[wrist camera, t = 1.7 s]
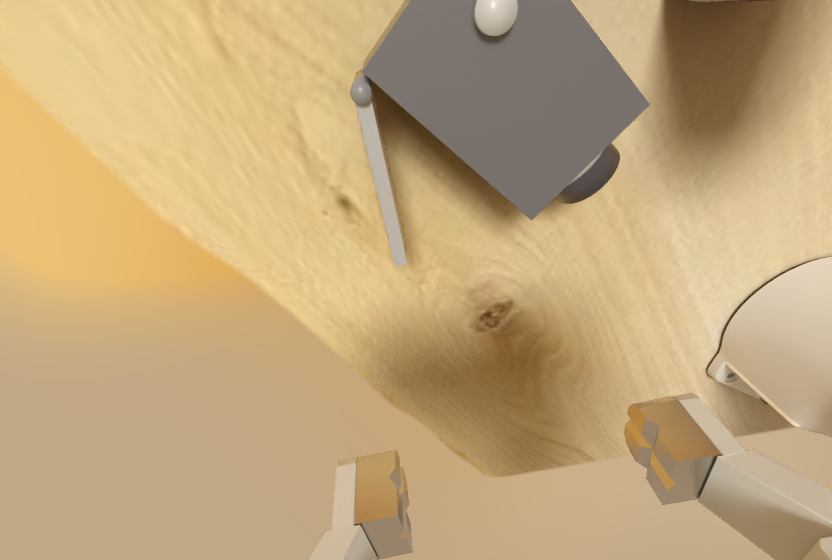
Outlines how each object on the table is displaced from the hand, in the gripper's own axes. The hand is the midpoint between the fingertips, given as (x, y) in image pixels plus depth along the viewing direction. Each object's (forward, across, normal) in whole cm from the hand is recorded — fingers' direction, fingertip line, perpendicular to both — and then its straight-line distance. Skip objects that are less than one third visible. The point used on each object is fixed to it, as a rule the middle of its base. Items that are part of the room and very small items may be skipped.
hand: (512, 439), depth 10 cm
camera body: (+21, -5, -5) cm, 22 cm away
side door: (+21, +3, -2) cm, 21 cm away
